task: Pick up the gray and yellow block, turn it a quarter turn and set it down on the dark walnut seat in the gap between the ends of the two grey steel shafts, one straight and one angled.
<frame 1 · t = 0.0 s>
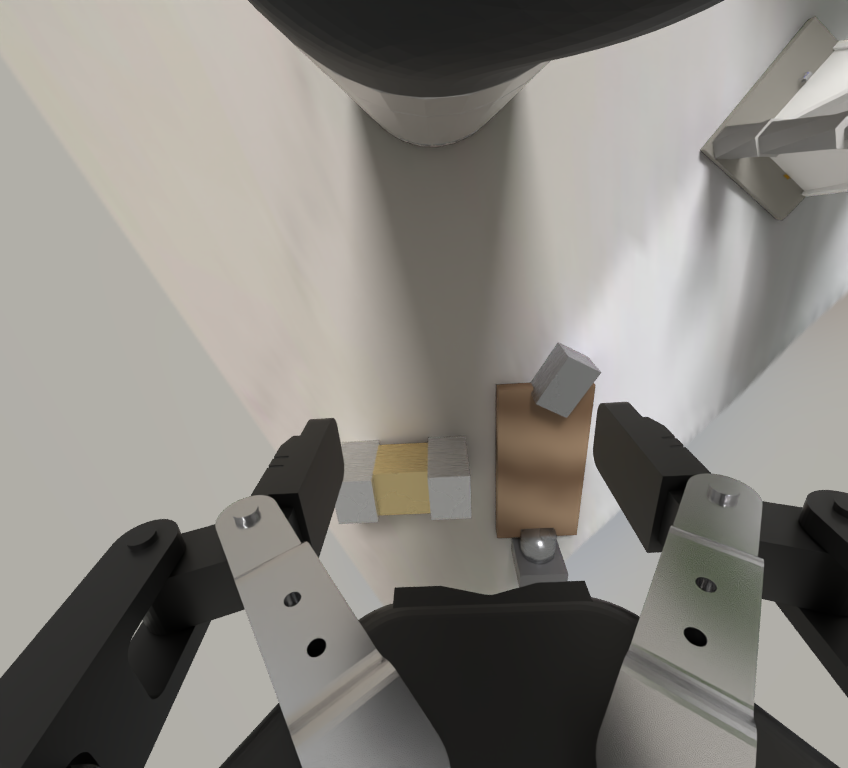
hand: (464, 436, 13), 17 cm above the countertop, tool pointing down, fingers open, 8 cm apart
coupling stand: (538, 462, 34), on the countertop
skyscraper: (806, 122, 23), on the countertop
gray and yellow block: (405, 458, 34), on the countertop
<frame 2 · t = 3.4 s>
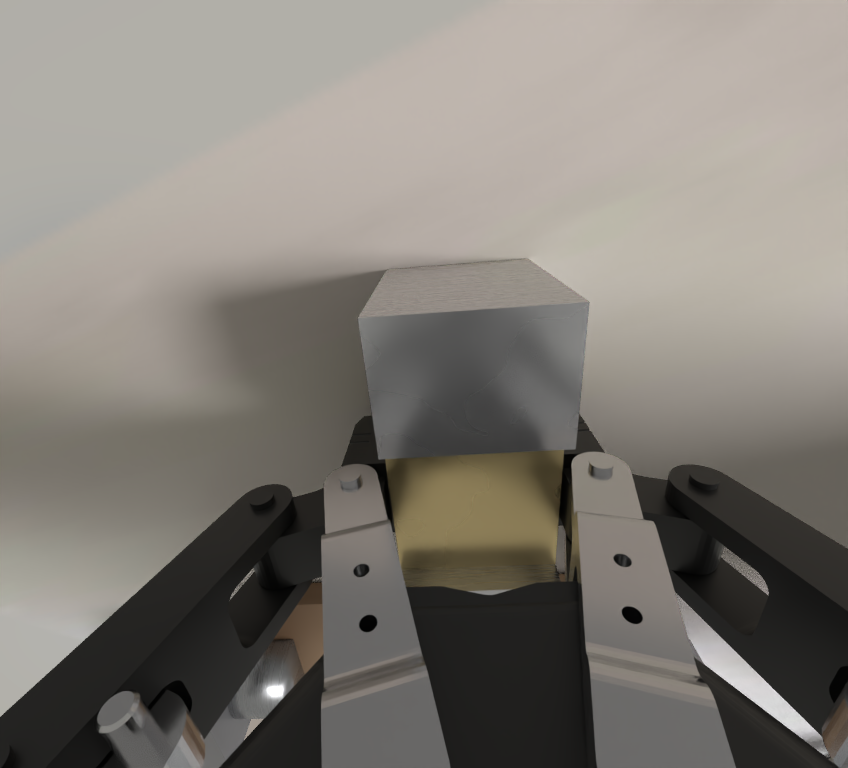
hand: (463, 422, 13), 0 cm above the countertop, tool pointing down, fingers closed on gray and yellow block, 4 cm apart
coupling stand: (449, 633, 18), on the countertop
gray and yellow block: (463, 417, 14), on the countertop, touching gripper
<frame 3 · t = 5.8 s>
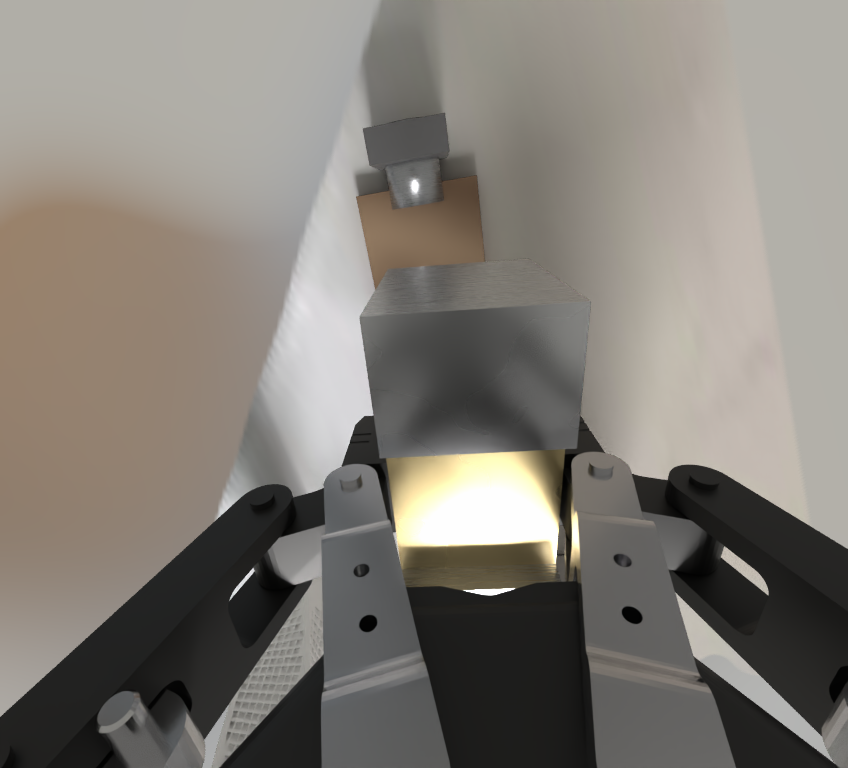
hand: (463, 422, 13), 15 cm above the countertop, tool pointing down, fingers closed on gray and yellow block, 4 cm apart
coupling stand: (434, 309, 28), on the countertop
skyscraper: (322, 570, 38), on the countertop
gray and yellow block: (464, 417, 14), point 15 cm above the countertop, touching gripper
when the fingers open (3 cm above the countertop, at t = 8.6 s): gray and yellow block drops 1 cm, resting on coupling stand.
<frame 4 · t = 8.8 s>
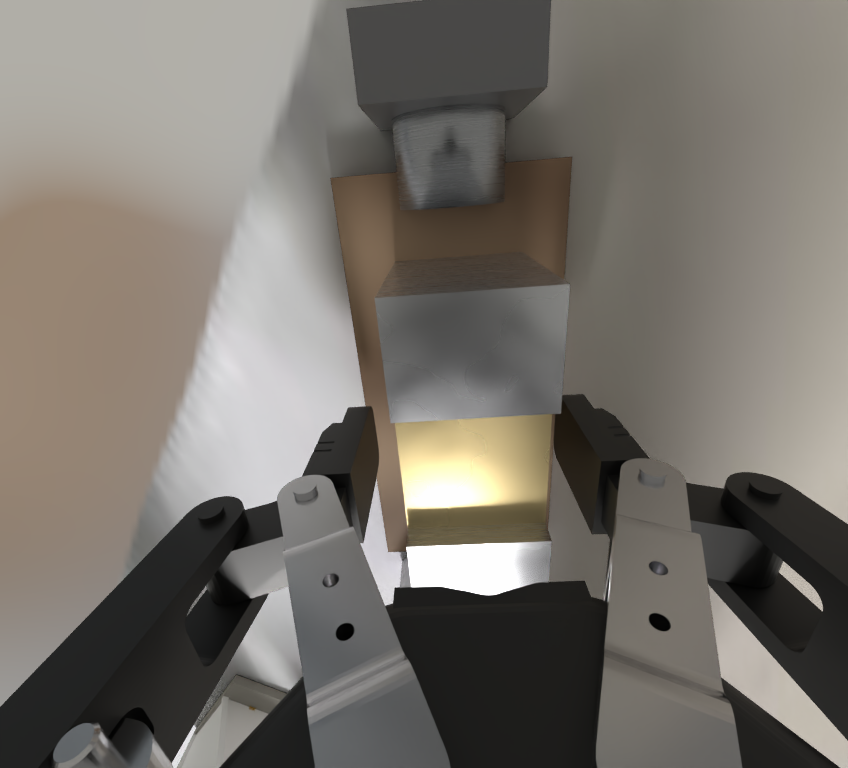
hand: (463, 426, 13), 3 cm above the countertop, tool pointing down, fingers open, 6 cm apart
coupling stand: (458, 386, 16), on the countertop
skyscraper: (255, 719, 27), on the countertop
gray and yellow block: (463, 397, 15), point 1 cm above the countertop, touching coupling stand
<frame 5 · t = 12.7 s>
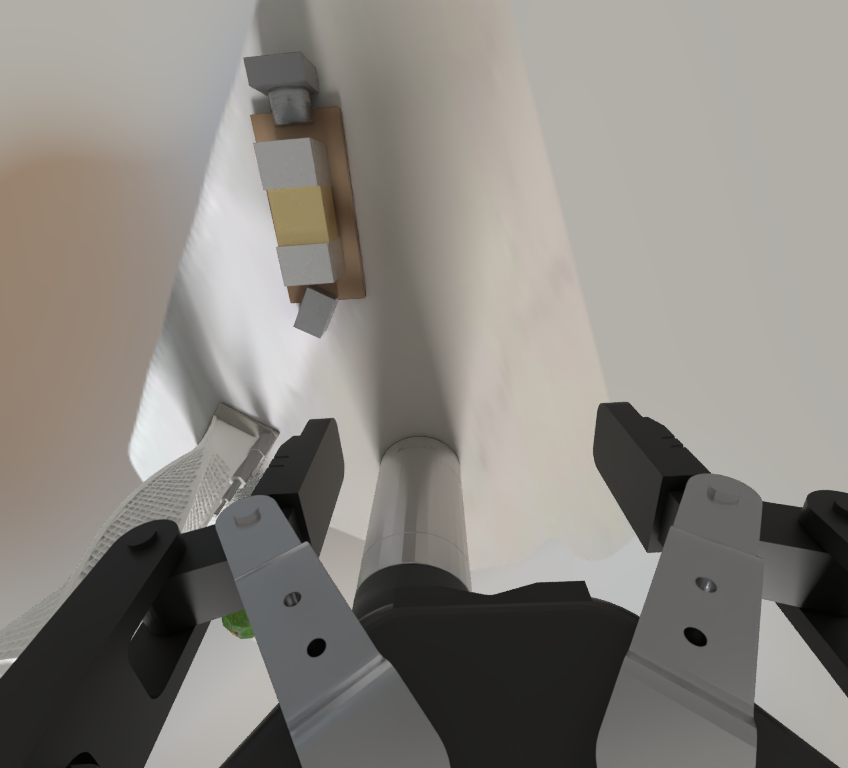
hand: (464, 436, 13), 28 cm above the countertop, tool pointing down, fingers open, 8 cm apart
coupling stand: (315, 213, 36), on the countertop
avocado: (281, 545, 53), on the countertop
skyscraper: (232, 441, 47), on the countertop
gray and yellow block: (313, 214, 35), point 1 cm above the countertop, touching coupling stand
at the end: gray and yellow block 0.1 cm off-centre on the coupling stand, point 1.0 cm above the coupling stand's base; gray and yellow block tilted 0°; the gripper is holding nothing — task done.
